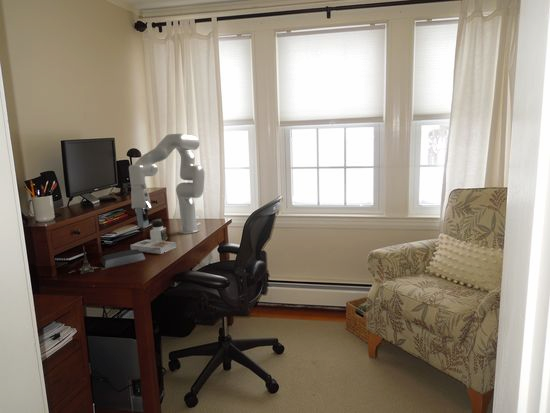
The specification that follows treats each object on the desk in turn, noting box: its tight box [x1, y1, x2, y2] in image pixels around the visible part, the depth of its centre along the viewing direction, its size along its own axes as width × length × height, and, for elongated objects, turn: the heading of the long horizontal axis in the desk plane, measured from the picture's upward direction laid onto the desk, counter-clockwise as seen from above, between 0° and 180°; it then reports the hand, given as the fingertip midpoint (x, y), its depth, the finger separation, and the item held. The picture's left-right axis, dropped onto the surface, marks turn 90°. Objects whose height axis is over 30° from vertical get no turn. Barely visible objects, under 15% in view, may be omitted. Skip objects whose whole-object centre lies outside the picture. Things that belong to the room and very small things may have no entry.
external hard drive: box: [100, 249, 146, 269], centre depth 202 cm, size 13×19×4 cm
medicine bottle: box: [149, 219, 168, 241], centre depth 238 cm, size 7×7×12 cm
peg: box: [135, 208, 150, 229], centre depth 221 cm, size 4×4×11 cm
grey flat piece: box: [130, 239, 177, 255], centre depth 221 cm, size 12×22×3 cm, turn 63°
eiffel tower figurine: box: [68, 244, 108, 274], centre depth 189 cm, size 15×10×13 cm
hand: (142, 219), depth 221 cm, fingers closed on peg, 4 cm apart
